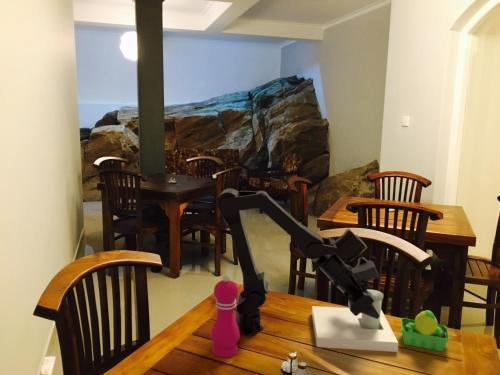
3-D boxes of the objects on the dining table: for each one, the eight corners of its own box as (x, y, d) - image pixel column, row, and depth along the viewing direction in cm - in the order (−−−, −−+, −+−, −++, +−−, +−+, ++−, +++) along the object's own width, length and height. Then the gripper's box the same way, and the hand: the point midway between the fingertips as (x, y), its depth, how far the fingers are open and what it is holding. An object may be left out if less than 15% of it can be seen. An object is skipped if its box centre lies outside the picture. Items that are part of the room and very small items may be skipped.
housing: (316, 350, 109) (317, 337, 108) (311, 317, 126) (312, 306, 126) (397, 355, 108) (398, 342, 107) (380, 321, 125) (381, 310, 125)
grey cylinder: (355, 331, 117) (358, 292, 115) (366, 325, 120) (369, 288, 118) (372, 339, 113) (376, 299, 111) (383, 332, 116) (387, 294, 115)
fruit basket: (444, 343, 114) (449, 303, 112) (447, 360, 106) (452, 318, 104) (399, 334, 118) (403, 296, 116) (399, 351, 110) (403, 309, 108)
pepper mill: (235, 361, 103) (237, 282, 100) (206, 356, 105) (207, 278, 101) (242, 345, 110) (244, 271, 107) (215, 341, 112) (216, 268, 108)
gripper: (368, 264, 104) (410, 310, 105) (354, 241, 122) (391, 280, 123) (333, 293, 106) (374, 337, 107) (325, 266, 124) (361, 304, 125)
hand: (376, 313), depth 116 cm, fingers closed on grey cylinder, 5 cm apart
